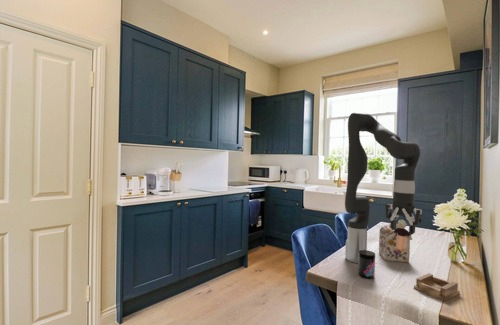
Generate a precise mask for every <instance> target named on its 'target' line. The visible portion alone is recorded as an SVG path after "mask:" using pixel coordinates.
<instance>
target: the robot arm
mask: <svg viewBox="0 0 500 325" xmlns="http://www.w3.org/2000/svg"><path fill="white" fill-rule="evenodd" d="M360 132H362V133H364V132H366V133H370V134H372V136H373V137H374V140H375V141H376V143H378V144H379V145H380V146H381V147H383V148H385V149H386V151H387V152H388V154H389V155H390V156H391V157H392V158H394V159H396V160H403V161H402V163H401V164H400V165H397V166H395V167H394V181H393V189H392V190H393V191H392V202H393V203H386V204H385V218H386V219H389V220H390V224H391V228H392V230H395V229H396V224H397V219H398V218H399V217H401V216H402V217H405V218H406V220H407V221H408V223H409V225H408V226H409V227H408V232H409V234H411V236H412V235H414V234H416V226H417V225H421V224H422V220H423V213H424V210H423V209H422V208H421V209H419V208H416V207H415V196H416V194H415V193H416V184H415V172H416V168H417V166H418V163H419V160H420V156H421V149H420V146H419V145H418V144H417V143H416V142H412V141H411V142H409V141H408V142H407V141H402V139H401V137H400V136H399V135H397V134H396V133H395V132H393V131H391V130H389V129H387V128H386V127H384V126H383V125H382V124H381V123H380V122H379V121H378V120H377V119H376V118H375V117H374V116H373V115H371V114H369V113H366V112H351V114H349V116H348V120H347V134H348V154H347V180H346V182H347V183H346V192H345V196H344V197H345V198H344V207H345V208H344V209H345V211H346V213H347V214H349V215H350V214H351V215H355V216H354V217H353V218H351V219H348V221H347V239H346V240H345V254H344V255H345V257H344V258H345V259H347V261H349V262H351V263H354V264H359V251H360V250H368V246H367V245H368V243H367V242H368V225H369V222H370V208H371V204H370V200H369V198H368V197H367V196H366V195H357V191H358V187H359V184H360V183H361V181H362V180H363V179H364V177H365V176H366V174H367V171H368V155H367V152H366V150H365V149H364V146H363V145H362V143H361V139H360V138H361V137H360ZM393 210H394V211H393ZM413 213H414V214H415V216H414V214H413Z"/></svg>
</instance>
